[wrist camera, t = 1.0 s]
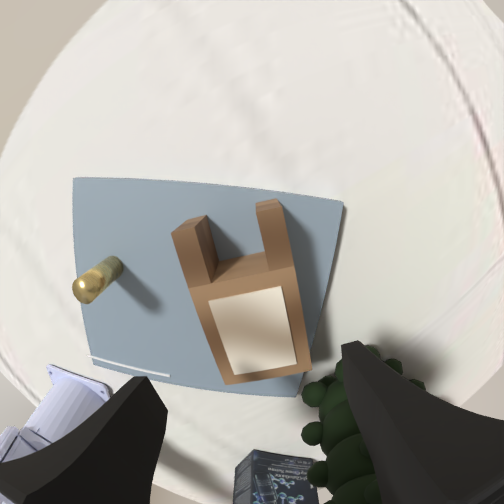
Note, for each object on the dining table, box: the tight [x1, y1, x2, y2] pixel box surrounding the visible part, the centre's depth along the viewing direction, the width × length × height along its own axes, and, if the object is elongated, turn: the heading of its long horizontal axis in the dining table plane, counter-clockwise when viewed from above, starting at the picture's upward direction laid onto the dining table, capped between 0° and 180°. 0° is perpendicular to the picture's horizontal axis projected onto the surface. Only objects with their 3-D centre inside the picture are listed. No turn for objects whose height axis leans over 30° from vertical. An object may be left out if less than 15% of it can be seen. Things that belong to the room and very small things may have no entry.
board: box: [73, 177, 344, 397], centre depth 19 cm, size 16×18×1 cm
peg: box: [72, 256, 124, 304], centre depth 16 cm, size 2×2×4 cm
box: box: [233, 450, 319, 504], centre depth 21 cm, size 8×6×11 cm
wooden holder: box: [171, 198, 312, 385], centre depth 16 cm, size 10×6×4 cm, turn 13°
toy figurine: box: [301, 346, 426, 504], centre depth 14 cm, size 9×19×25 cm
